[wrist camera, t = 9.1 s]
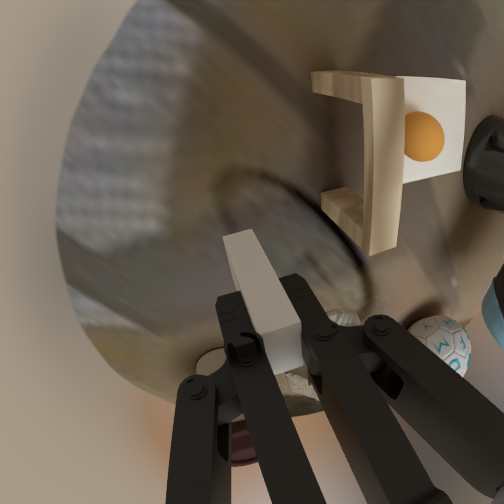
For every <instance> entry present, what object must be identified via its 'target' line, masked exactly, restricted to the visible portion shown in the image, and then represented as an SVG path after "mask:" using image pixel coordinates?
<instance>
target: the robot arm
mask: <svg viewBox="0 0 504 504" xmlns="http://www.w3.org/2000/svg"><path fill="white" fill-rule="evenodd" d="M464 186H465V191H466V194H467V196H468V198H469V199H470V200H471V201H472V202H473V203H475V204H476V205H478V206H479V207H481V208H483V209H486V210H491V211H495V212H499V213H503V214H504V119H503V118H501V117H498V116H491V117H488V118H487V119H485V120H484V121H483V122H482V123H481V124H480V126H479V127H478V128H477V130H476V132H475V133H474V135H473V138H472V140H471V142H470V145H469V148H468V151H467V155H466V160H465V166H464ZM223 241H224V245H225V249H226V253H227V257H228V261H229V265H230V269H231V273H232V277H233V280H234V283H235V286H236V289H237V292H233V293H230V294H226V295H223V296H219V297H218V298H217V302H216V305H215V307H216V311H217V315H218V319H219V323H220V327H221V331H222V335H223V339H224V351H225V354H226V360H225V362H224V364H223V365H222V366H221V368H219V369H218V370H217V371H215V372H214V373H212V374H210V375H209V376H206V375H200V374H197V375H192V376H189V377H188V378H186V379H184V380H183V382H182V383H181V384H180V386H179V389H178V392H177V400H176V408H175V416H174V424H173V432H172V441H171V450H170V460H169V469H168V480H167V491H166V503H165V504H231V446H232V420H234V419H235V418H237V417H239V416H240V415H242V414H244V417H245V421H246V424H247V427H248V431H249V434H250V437H251V440H252V444H253V447H254V450H255V453H256V456H257V459H258V462H259V466H260V469H261V472H262V475H263V478H264V481H265V483H266V487H267V490H268V492H269V496H270V498H271V501H272V504H326V501H325V499H324V497H323V494H322V492H321V490H320V487H319V485H318V482H317V480H316V477H315V475H314V473H313V470H312V468H311V465H310V463H309V460H308V458H307V456H306V453H305V451H304V448H303V446H302V443H301V441H300V439H299V436H298V433H297V431H296V428H295V426H294V424H293V421H292V419H291V416H290V413H289V411H288V408H287V406H286V403H285V401H284V398H283V396H282V393H281V391H280V388H279V386H278V383H277V380H276V378H275V375H277V374H280V373H283V372H286V371H289V370H292V369H295V368H298V367H301V366H303V360H304V362H305V364H306V366H307V370H308V385H309V386H310V385H311V383H312V385H313V388H314V390H315V392H316V394H317V396H318V398H319V400H320V403H321V405H322V407H323V409H324V411H325V413H326V416H327V418H328V420H329V422H330V424H331V426H332V428H333V431H334V433H335V435H336V437H337V439H338V441H339V443H340V445H341V448H342V450H343V452H344V454H345V456H346V458H347V461H348V463H349V465H350V467H351V469H352V471H353V473H354V476H355V478H356V480H357V482H358V484H359V486H360V488H361V491H362V493H363V495H364V497H365V499H366V501H367V504H453V503H452V501H451V500H450V498H449V497H448V495H447V494H446V493H444V491H442V490H440V489H437V488H436V487H435V486H434V485H433V483H432V481H431V480H430V478H429V476H428V474H427V472H426V470H425V469H424V467H423V465H422V463H421V461H420V460H419V458H418V456H417V454H416V452H415V451H414V449H413V447H412V445H411V444H410V442H409V440H408V439H407V437H406V435H405V433H404V431H403V430H402V428H401V426H400V424H399V423H398V421H397V419H396V417H395V416H394V414H393V412H392V411H391V409H390V407H389V406H388V404H389V405H390V406H391V407H392V408H393V409H394V410H395V411H396V412H397V413H398V414H399V415H400V416H401V417H402V418H403V419H404V420H405V421H406V422H407V423H408V424H409V425H410V426H411V427H412V428H413V429H414V430H415V431H416V432H417V433H418V434H419V435H420V436H421V437H422V438H423V439H424V440H425V441H426V442H427V443H428V444H429V445H430V446H431V447H432V448H433V449H434V450H435V451H436V452H437V453H438V454H439V455H440V456H441V457H442V458H443V459H444V460H445V461H447V463H449V464H450V465H451V466H452V467H453V468H454V469H455V470H456V471H457V472H458V473H459V474H460V475H461V476H462V477H463V478H464V479H465V480H466V481H467V482H468V483H469V484H470V485H471V486H472V487H474V488H475V489H476V490H477V491H479V492H481V493H482V494H484V495H486V496H488V497H490V498H493V499H494V500H493V501H492V502H491V504H504V413H503V412H502V411H500V410H499V409H498V408H497V407H496V406H495V405H494V404H493V403H491V402H490V401H489V400H488V399H487V398H486V397H484V396H483V395H482V394H481V393H480V392H479V391H478V390H477V389H475V388H474V387H473V386H472V385H471V384H470V383H469V382H468V381H466V380H465V379H464V378H463V377H462V376H461V375H460V374H458V373H457V372H456V371H455V370H454V369H453V368H451V367H450V366H449V365H448V364H447V363H446V362H444V361H443V360H442V359H441V358H440V357H438V356H437V355H436V354H435V353H434V352H432V351H431V350H430V349H429V348H428V347H427V346H425V345H424V344H423V343H422V342H421V341H419V340H418V339H417V338H416V337H414V336H413V335H412V334H411V333H410V332H408V331H407V330H406V329H405V328H404V327H402V326H401V325H400V324H399V323H397V322H396V321H395V320H394V319H392V318H391V317H389V316H386V315H381V314H380V315H374V316H371V317H369V318H368V319H367V320H366V321H365V323H364V325H361V326H341V325H338V324H337V323H336V322H334V321H331V320H330V318H329V317H328V316H327V314H326V312H325V311H324V309H323V307H322V306H321V304H320V303H319V301H318V299H317V298H316V296H315V295H314V293H313V291H312V290H311V288H310V287H309V285H308V283H307V282H306V280H305V279H304V278H302V277H301V276H299V275H298V274H296V273H295V274H292V275H288V276H285V277H282V278H278V277H277V275H276V273H275V271H274V270H273V268H272V266H271V264H270V262H269V260H268V258H267V256H266V255H265V253H264V251H263V249H262V247H261V245H260V243H259V241H258V240H257V238H256V236H255V234H254V232H253V230H252V229H249V230H245V231H241V232H238V233H234V234H230V235H227V236H223ZM482 315H483V318H484V321H485V324H486V326H487V328H488V330H489V331H490V333H491V335H492V336H493V338H494V339H495V340H496V342H497V343H498V345H499V346H500V347H501V348H502V349H503V350H504V264H503V265H502V267H501V269H500V271H499V272H498V274H497V276H496V277H494V278H493V280H492V284H491V286H490V288H489V290H488V291H487V293H486V295H485V297H484V299H483V301H482ZM387 403H388V404H387Z"/></svg>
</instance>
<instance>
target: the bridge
mask: <svg viewBox="0 0 504 504" xmlns="http://www.w3.org/2000/svg"><path fill="white" fill-rule="evenodd" d="M310 75H311V83H312V92H314V93H319V94H323V95H328V96H332V97H337V98H341V99H345V100H349V101H353V102H357V103H361V104H363V122H364V200H363V199H361V198H360V197H359V196H357V195H356V194H355V193H353V192H352V191H350V190H349V189H348V188H346V187H342V188H337V189H333V190H329V191H325V192H321V209H322V210H323V211H324V212H325V213H326V214H327V215H328V216H329V217H330V218H331V219H332V220H333V221H334V222H335V223H336V224H337V225H338V226H339V227H340V228H341V229H342V230H343V231H344V232H345V233H346V234H347V235H348V236H349V237H350V238H351V239H352V240H353V241H354V242H355V243H356V244H357V245H358V246H359V247H360V248H361V249H362V250H363V251H364V252H365V253H366V254H367V255H368V256H371V255H374V254H377V253H380V252H382V251H385V250H388V249H391V248H394V247H396V242H397V234H398V226H399V217H400V207H401V196H402V184H403V168H404V144H405V95H404V78H399V77H392V76H386V75H379V74H372V73H364V72H355V71H345V70H328V71H314V72H310Z"/></svg>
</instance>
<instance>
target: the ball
mask: <svg viewBox="0 0 504 504" xmlns="http://www.w3.org/2000/svg"><path fill="white" fill-rule="evenodd" d="M444 142H445V136H444V132H443V129H442V127H441V125H440V123H439V122H438V121H437V120H436V119H435V118H434V117H433V116H431V115H430V114H428V113H425V112H419V111H416V112H411V113H409V114H407V115H405V144H404V154H405V155H406V156H408V157H409V158H411V159H412V160H415V161H419V162H427V161H431V160H433V159H435V158H436V157H437V156H438V155H439V154H440V153H441V151H442V150H443V147H444Z"/></svg>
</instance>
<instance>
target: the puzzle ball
mask: <svg viewBox="0 0 504 504" xmlns="http://www.w3.org/2000/svg"><path fill="white" fill-rule="evenodd" d="M407 331H408V332H410V333H411V334H412V335H413V336H414V337H416V338H417V339H418V340H419V341H421V342H422V343H423V344H424V345H425V346H427V347H428V348H429V349H430V350H431V351H432V352H434V353H435V354H436V355H437V356H438V357H440V358H441V359H442V360H443V361H444V362H446V363H447V364H448V365H449V366H450V367H451V368H453V369H454V370H455V371H456V372H457V373H458V374H460V375H461V376H462V377H463V376H464V374H465V373H466V370H467V367H468V365H469V362H470V358H471V345H470V341H469V337H468V336H467V334H466V331H465V329H464V327H463V328H462V326H461V325H460V323H458V322H457V321H456V320H454V319H451V318H449V317H447V316H441V315H437V316H432V317H428V318H424V319H421V320H419V321H416V322H415V323H414V324H412V325H411V326H410V327H409V329H408V330H407Z"/></svg>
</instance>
